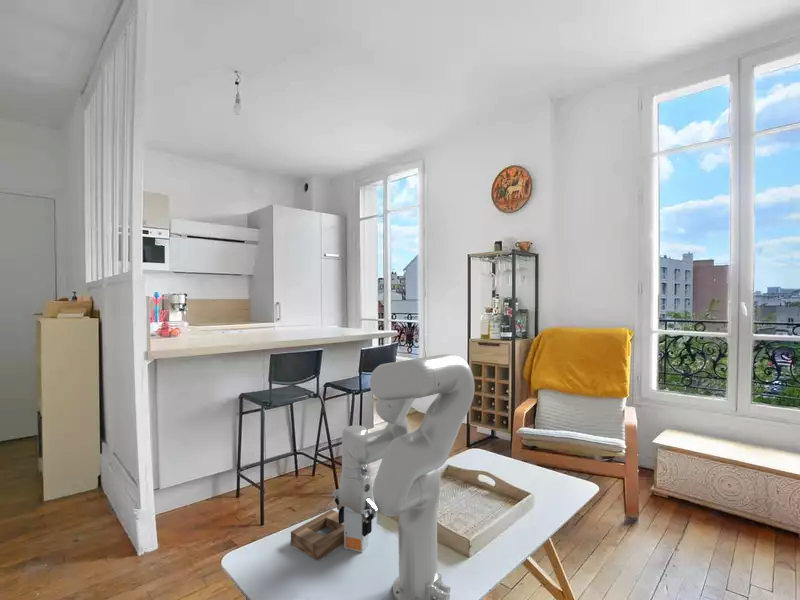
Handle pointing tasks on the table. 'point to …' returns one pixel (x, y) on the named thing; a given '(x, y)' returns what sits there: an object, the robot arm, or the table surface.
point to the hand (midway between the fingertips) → (354, 527)
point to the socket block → (319, 535)
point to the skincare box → (354, 531)
